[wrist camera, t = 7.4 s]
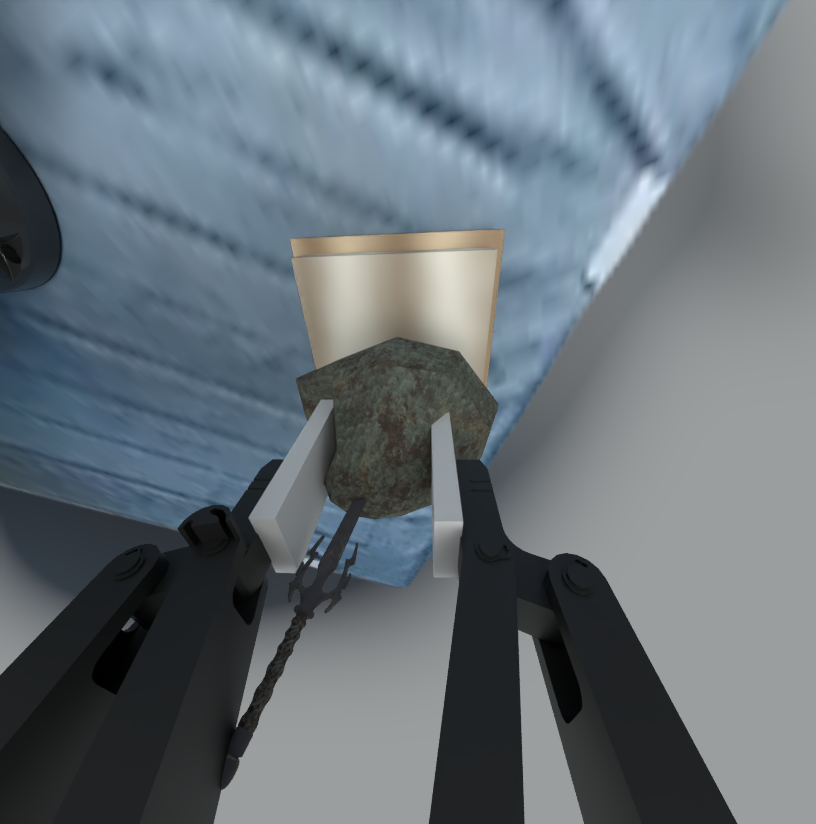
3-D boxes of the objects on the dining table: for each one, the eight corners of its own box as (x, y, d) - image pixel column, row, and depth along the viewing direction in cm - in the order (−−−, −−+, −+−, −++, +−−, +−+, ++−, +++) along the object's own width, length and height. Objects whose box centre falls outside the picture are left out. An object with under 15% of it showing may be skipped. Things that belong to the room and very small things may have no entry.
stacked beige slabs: (337, 398, 32) (319, 434, 26) (306, 237, 24) (271, 240, 18) (477, 396, 31) (489, 433, 25) (494, 229, 23) (516, 229, 17)
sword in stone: (503, 324, 13) (866, 685, 3) (492, 455, 17) (624, 778, 7) (281, 348, 13) (-70, 759, 3) (326, 472, 18) (236, 805, 8)
